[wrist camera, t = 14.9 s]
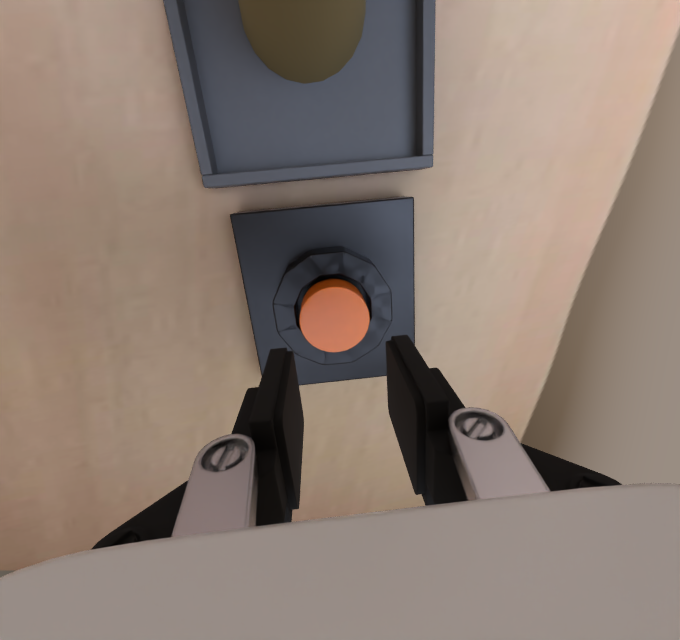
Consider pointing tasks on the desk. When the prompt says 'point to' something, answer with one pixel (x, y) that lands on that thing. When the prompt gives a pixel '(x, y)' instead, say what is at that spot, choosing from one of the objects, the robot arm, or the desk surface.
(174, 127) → the desk surface
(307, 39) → the olive rounded lobed piece
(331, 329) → the button
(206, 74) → the tray
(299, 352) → the control block
